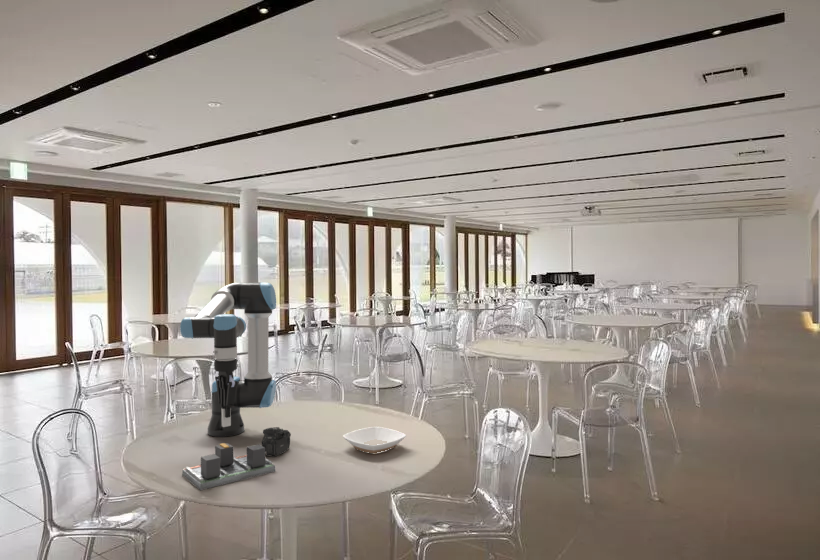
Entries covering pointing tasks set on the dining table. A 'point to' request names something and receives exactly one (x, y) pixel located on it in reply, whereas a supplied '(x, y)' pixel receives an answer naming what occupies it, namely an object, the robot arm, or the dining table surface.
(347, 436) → the bowl
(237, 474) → the panel
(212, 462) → the block
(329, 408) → the dining table surface
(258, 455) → the breaker
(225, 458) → the block
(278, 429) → the camera
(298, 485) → the dining table surface
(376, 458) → the dining table surface
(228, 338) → the robot arm
